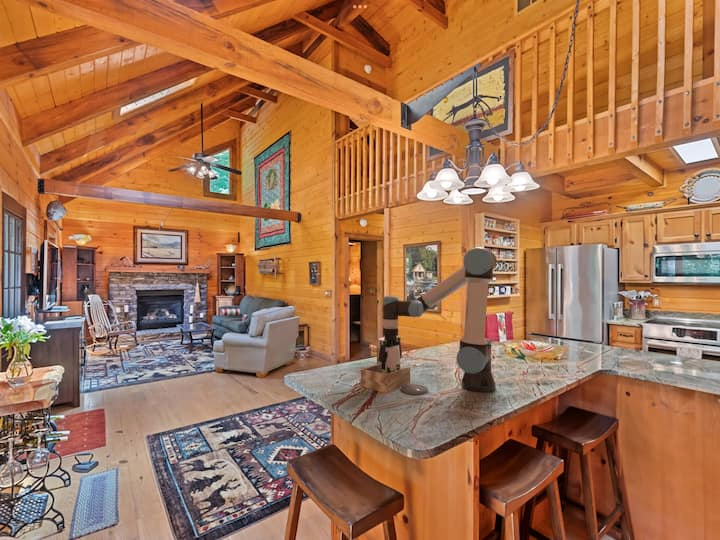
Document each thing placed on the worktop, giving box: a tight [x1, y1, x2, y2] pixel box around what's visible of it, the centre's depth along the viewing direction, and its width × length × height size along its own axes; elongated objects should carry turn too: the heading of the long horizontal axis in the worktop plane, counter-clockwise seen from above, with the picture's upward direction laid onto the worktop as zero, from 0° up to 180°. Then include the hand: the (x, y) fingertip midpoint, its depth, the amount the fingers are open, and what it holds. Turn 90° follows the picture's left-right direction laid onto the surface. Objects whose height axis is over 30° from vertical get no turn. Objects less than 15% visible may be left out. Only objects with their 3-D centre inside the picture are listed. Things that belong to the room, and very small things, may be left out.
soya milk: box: [381, 345, 401, 374], centre depth 171 cm, size 9×9×20 cm
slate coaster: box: [400, 383, 429, 396], centre depth 159 cm, size 12×12×1 cm
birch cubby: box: [360, 363, 411, 394], centre depth 168 cm, size 15×20×8 cm
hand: (390, 373), depth 171 cm, fingers closed on soya milk, 9 cm apart
